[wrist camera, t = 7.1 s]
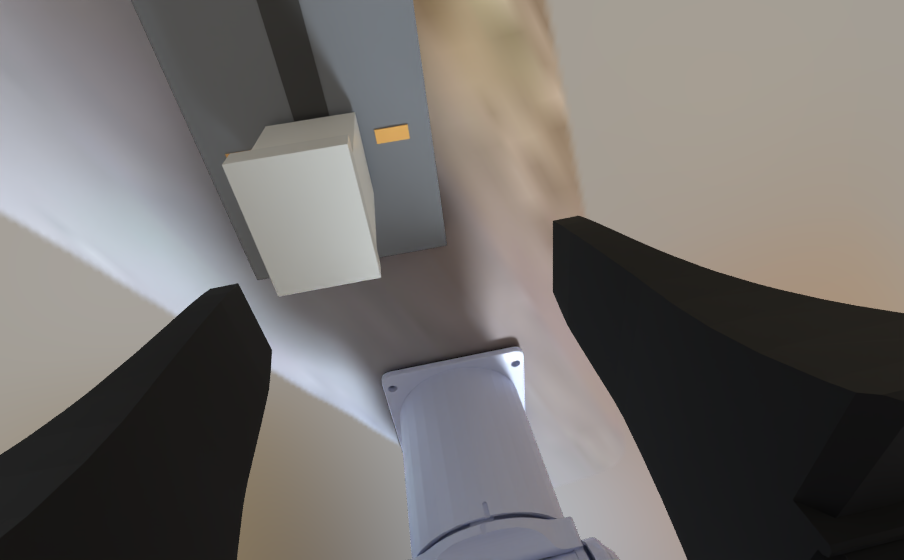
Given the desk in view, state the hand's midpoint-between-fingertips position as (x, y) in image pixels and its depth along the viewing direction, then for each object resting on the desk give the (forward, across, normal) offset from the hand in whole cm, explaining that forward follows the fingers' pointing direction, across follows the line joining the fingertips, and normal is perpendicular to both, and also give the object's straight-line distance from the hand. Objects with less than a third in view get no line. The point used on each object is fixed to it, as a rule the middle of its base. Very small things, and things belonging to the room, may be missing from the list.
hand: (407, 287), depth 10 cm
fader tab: (+8, +2, -1) cm, 8 cm away
